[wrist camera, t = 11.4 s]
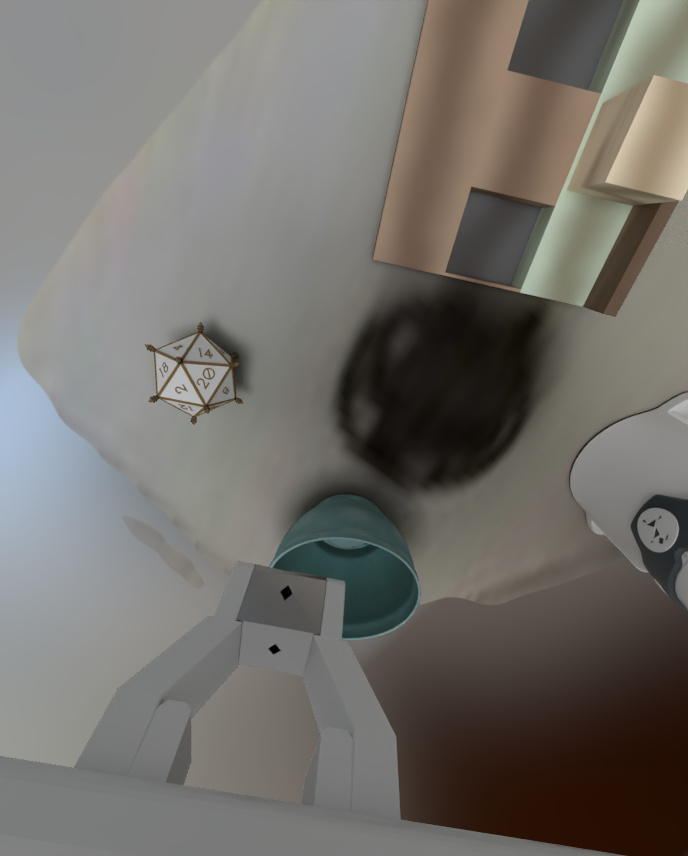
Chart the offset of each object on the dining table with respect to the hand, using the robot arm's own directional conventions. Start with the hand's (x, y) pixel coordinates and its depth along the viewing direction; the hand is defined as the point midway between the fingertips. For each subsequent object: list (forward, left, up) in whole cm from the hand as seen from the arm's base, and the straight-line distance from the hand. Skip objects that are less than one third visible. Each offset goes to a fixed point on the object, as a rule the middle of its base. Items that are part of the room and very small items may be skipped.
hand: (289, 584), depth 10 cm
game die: (+13, +6, -29) cm, 33 cm away
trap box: (-11, -16, -29) cm, 35 cm away
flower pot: (-5, +24, -29) cm, 38 cm away
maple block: (-16, -17, -26) cm, 35 cm away
